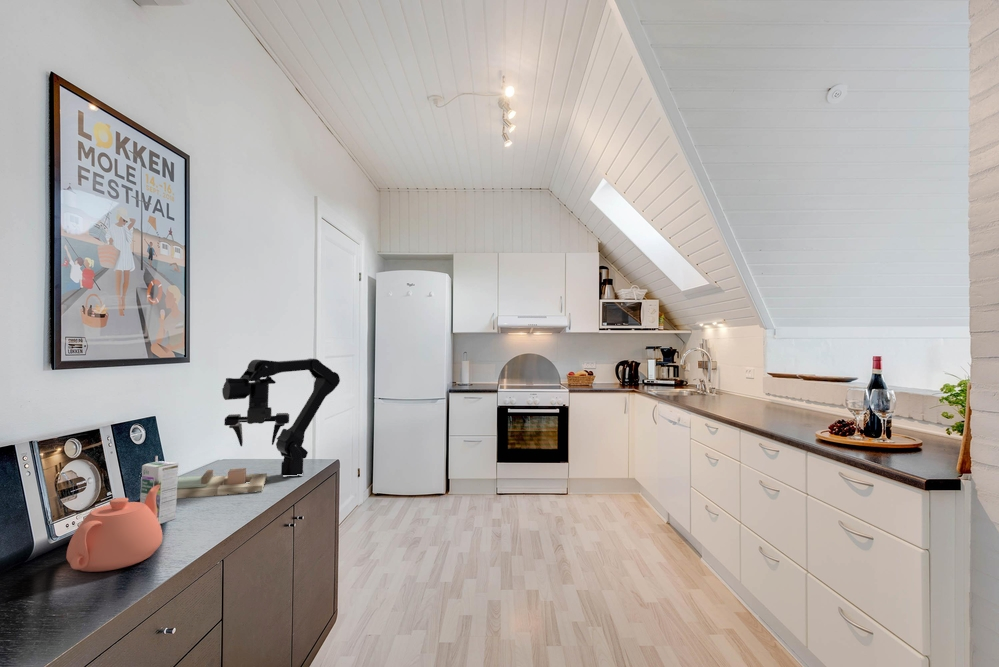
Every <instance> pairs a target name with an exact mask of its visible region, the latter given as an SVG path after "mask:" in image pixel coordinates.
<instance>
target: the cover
mask: <svg viewBox="0 0 999 667" xmlns="http://www.w3.org/2000/svg"><path fill="white" fill-rule="evenodd" d="M213 477H214V469H207V471H206V472H205V473H204V474H203V475H194V476H178V482H177V488H191V487H206V486H207V485H208V484H209V482H210V481H211V480H212V478H213Z"/></svg>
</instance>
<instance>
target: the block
mask: <svg viewBox="0 0 999 667" xmlns="http://www.w3.org/2000/svg"><path fill="white" fill-rule="evenodd" d="M246 475H247V468H246V467H245V468H243V467H242V468H241V467H240V468H230V469H229V470H228V471H227V476H228V481H227V485H233V484H245V483H246Z"/></svg>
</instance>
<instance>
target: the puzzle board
mask: <svg viewBox="0 0 999 667" xmlns="http://www.w3.org/2000/svg"><path fill="white" fill-rule="evenodd" d="M266 478H268V474H267V472H266V473H265V472H264V473H253V474H252V473H250V474H249V473H248V474H246V482H250V483H248V484H233V485H227V481H228V475H219V476H218V475H215V476H213V478H212V480H211V481H210V482H209V484H208V485H207V486H206V487H191V488H177V499H185V498H186V497H187V498H199V497H200V498H201V497H212V496H214V495H215V496H227V494H229V495H239V494H238V493H243V494H245V493H244V492H255V491H262V490H264V488H263V487H265V485H266V482H265V481H267V480H266ZM264 484H265V485H264ZM262 492H263V491H262ZM215 496H214V497H215ZM187 498H186V499H187Z"/></svg>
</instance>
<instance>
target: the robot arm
mask: <svg viewBox="0 0 999 667" xmlns="http://www.w3.org/2000/svg"><path fill="white" fill-rule="evenodd" d="M301 371H309V373H310V374H311V376H312V377H313V378H314V379H315V381H314V383H313V391H312V392H311V395H310V396H309V398H308V400H306V403H305V404H304V406H303V408H302V409H301V411H300V412H299V414H298V416H297V417H296V419H295V421H294V422H293V424H292V425H291V426H290V427H289V428H288V429H287V428H283V429H282V430H281V432H280V434H279V436H277V435H278V432H279V431H280V429H281V427H284V426H285V424H289V423H290V414H289V413H288V412H278V413H277V412H276V415H272V407H269V395H270V394H269V390H270V389H269V388H270V386H269V385H271V384H272V385H273V384H276V383H277V382H276V380H274V379H273V378H272V377H273V376H275V375H277V374H280V373H288V372H289V373H290V372H301ZM340 382H341V378H340V375H339V373H337V372H336V371H333V370H332V369H331V368H329V367H328V366H326V365H324V364H323V363H322V362H321V361H320V360H319V359H318V358H311V357H310V358H306V359H293V360H292V359H291V360H280V361H279V360H278V361H277V360H268V359H267V360H266V359H252V360H251V361H250V362H249V363H248V365H247V368H246V370H245V371H244V372H243V374H242V375H241V376H240V377H238V378H237V377H236V378H232V377H227V378H225V382H224V383H223V386H222V387H223V388H221V392H222V398H223V399H224V400H225V401H229V400H230V401H231V400H244V399H245V400H246V398H247V397H248V409H247V411H246V412H247V413H246V414H247V416H241V413H240V414H238V413H237V414H228V415H227V416H226V417H225V418H224V426H228V428H229V429H233V431H234V432H235V434H236V437H237V440H238V443H239V446H240V447H243V444H244V443H243V442H244V440H243V425H242V423H247V424H249V425H252V424H261V425H262V424H263V423H266V422H274V423H275V424H274V426H273V431H272V432H273V433H272V437H271V438H272V439H271V446H273V445H274V444H275V446H276V449H277V451H279V452H280V455H281V457H283V460H282V461H281V465H280V466H281V471H280V473H281V474H280V475H281V476H282V475H297V474H302V473H303V474H304V459H306V458H307V456H308V453H309V451H307V449H305V448H304V447H303V444H304V442H305V432H306V430H307V429H308V427H309V425H310V423H311V422H312V421H313V419H314V417H315V415H316V414H317V412H318V411H319V409H320V407H321V406H322V404H323V402H324V400H325V399H326V397H327V396H328V395H330V394H331V393H332V392H333V391H334V390H336V388H337V387H338V385H339V384H340ZM275 441H276V443H275Z"/></svg>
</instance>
